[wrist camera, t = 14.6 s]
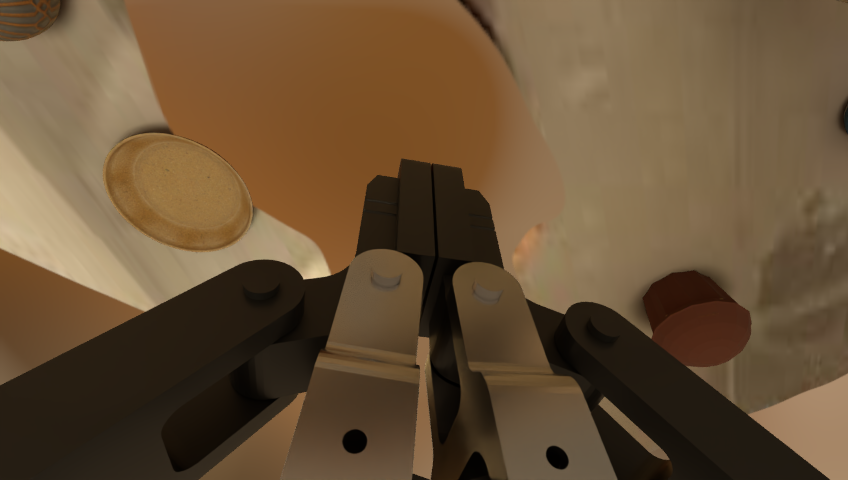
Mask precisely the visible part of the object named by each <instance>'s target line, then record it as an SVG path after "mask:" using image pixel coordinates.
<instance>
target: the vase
mask: <svg viewBox="0 0 848 480" xmlns="http://www.w3.org/2000/svg"><path fill="white" fill-rule="evenodd" d="M59 10H60V0H0V41H20V40H26V39H29V38H32V37H35V36H37V35H39V34H41V33H42V32H44V31H46V30H47V29H48V28H49V27H50V26H51V25H52V24H53V23H54V21H55V20H56V18H57V16H58V13H59Z"/></svg>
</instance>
